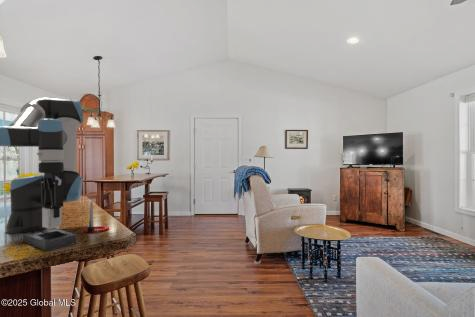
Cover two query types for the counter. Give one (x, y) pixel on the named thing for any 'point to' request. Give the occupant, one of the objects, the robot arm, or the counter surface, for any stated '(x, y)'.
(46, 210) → the block
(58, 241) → the dark grey tray
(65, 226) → the counter surface
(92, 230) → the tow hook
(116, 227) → the counter surface
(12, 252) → the counter surface
